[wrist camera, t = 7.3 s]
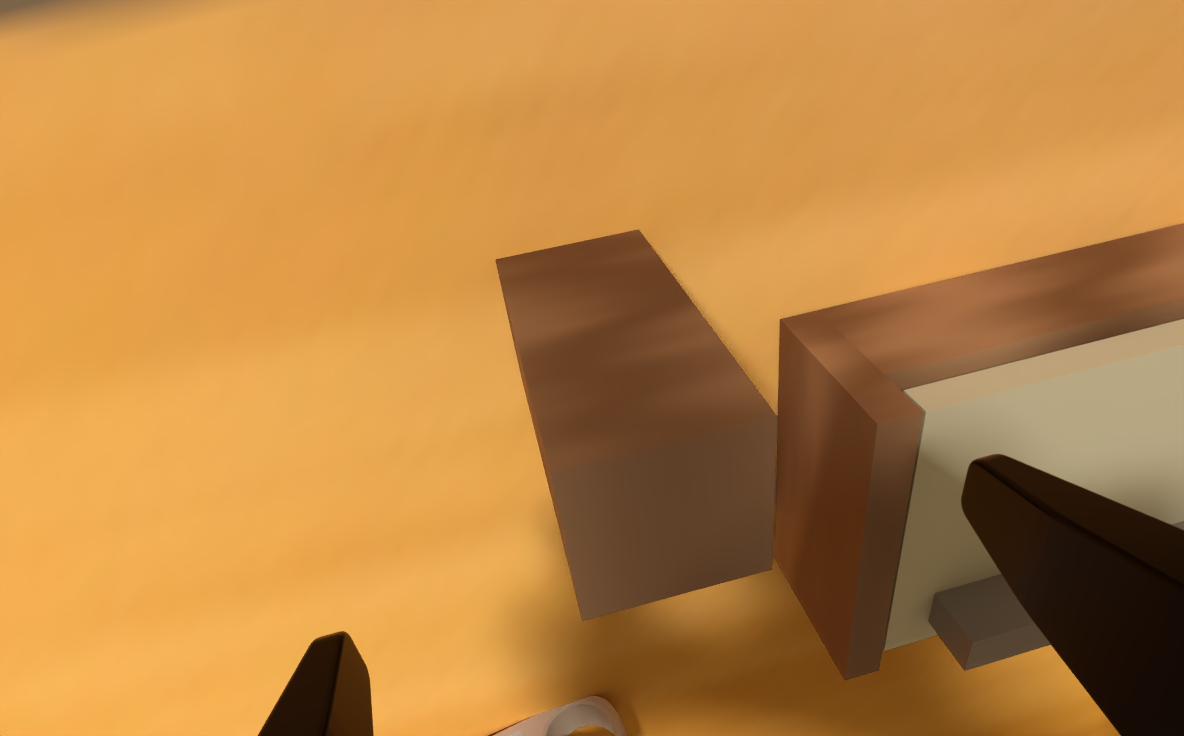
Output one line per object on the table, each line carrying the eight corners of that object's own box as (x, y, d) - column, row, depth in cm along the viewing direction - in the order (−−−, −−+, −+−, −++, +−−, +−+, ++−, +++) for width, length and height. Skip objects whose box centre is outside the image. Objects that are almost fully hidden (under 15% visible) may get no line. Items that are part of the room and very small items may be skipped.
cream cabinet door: (1352, 275, 16) (1475, 322, 14) (1218, 524, 21) (1297, 584, 19) (903, 390, 15) (974, 457, 13) (868, 627, 20) (916, 701, 18)
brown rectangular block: (638, 229, 15) (777, 416, 10) (650, 350, 17) (772, 569, 11) (495, 259, 15) (550, 472, 9) (522, 380, 17) (582, 620, 11)
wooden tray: (1263, 204, 19) (1464, 272, 15) (1155, 452, 24) (1288, 547, 20) (779, 319, 17) (877, 424, 14) (774, 558, 23) (844, 680, 19)
